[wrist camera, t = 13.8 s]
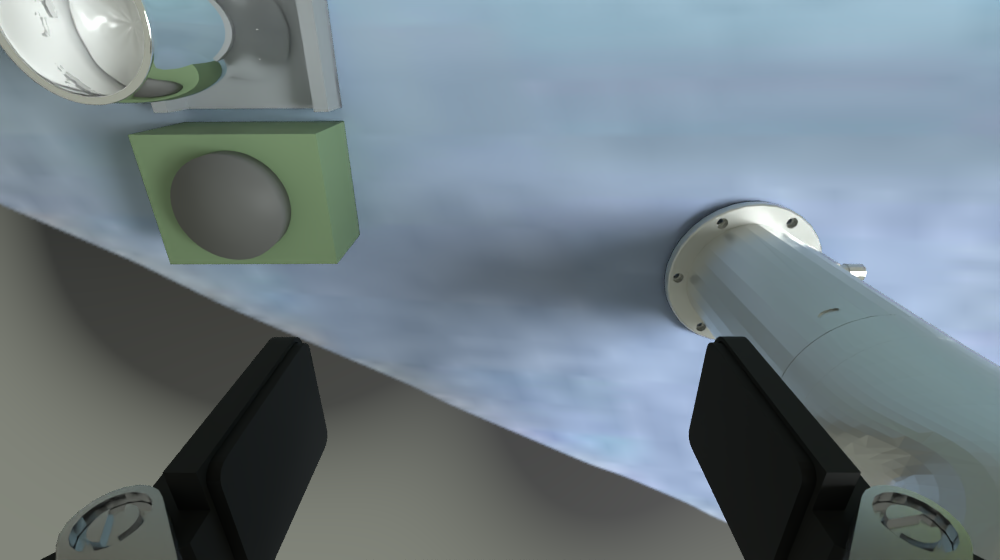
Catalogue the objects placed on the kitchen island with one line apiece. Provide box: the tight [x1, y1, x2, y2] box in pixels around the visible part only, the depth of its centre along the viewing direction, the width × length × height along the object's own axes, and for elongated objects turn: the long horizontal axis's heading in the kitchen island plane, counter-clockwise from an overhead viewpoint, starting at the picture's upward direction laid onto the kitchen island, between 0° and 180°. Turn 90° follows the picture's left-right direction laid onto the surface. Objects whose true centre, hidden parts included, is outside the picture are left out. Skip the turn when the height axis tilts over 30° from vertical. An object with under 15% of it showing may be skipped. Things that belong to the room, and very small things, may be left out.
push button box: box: [128, 0, 360, 264], centre depth 32 cm, size 12×22×8 cm, turn 0°
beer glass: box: [0, 0, 290, 105], centre depth 26 cm, size 7×7×15 cm
